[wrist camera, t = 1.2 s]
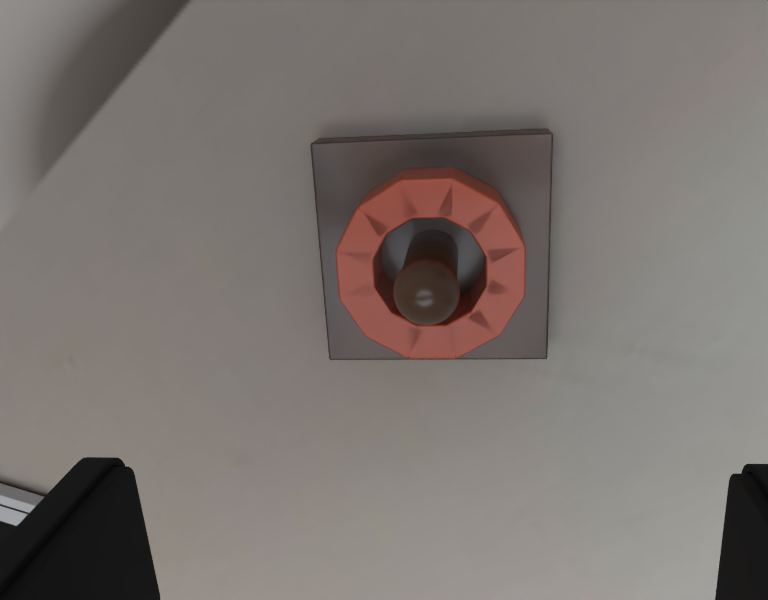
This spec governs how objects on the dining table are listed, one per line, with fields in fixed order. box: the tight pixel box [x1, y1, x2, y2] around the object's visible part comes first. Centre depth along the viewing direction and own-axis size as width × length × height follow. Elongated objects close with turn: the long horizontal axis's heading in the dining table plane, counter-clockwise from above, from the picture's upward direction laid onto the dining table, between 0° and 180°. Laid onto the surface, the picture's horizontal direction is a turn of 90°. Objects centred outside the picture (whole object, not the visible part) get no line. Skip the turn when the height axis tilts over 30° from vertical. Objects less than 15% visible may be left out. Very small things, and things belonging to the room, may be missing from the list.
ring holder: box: [311, 129, 553, 360], centre depth 25 cm, size 9×9×7 cm
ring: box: [335, 167, 526, 359], centre depth 26 cm, size 7×7×2 cm
